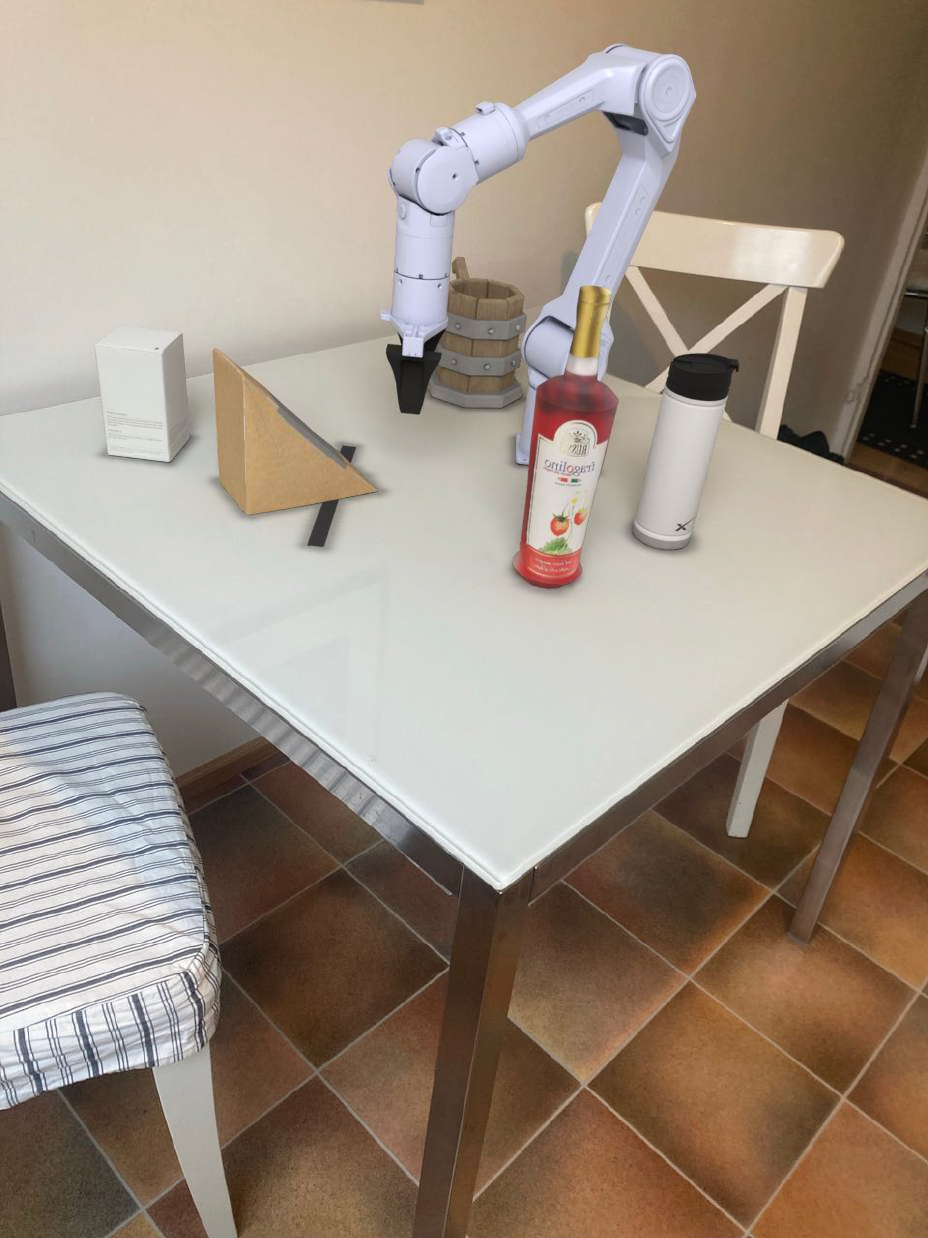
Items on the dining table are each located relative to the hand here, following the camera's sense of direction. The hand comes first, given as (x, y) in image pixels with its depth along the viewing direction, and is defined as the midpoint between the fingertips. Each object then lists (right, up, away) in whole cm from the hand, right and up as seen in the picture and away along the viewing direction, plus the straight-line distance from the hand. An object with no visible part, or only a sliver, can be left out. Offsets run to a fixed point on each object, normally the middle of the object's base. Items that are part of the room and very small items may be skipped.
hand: (413, 399), depth 108 cm
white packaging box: (-30, -4, +5) cm, 31 cm away
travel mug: (+27, -15, -1) cm, 31 cm away
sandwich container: (-12, -10, 0) cm, 16 cm away
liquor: (+14, -20, -10) cm, 26 cm away
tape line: (-9, -10, 0) cm, 13 cm away
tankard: (+6, +10, +32) cm, 34 cm away
